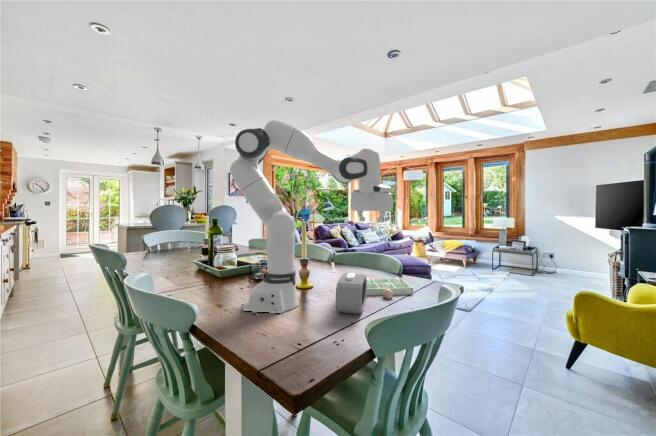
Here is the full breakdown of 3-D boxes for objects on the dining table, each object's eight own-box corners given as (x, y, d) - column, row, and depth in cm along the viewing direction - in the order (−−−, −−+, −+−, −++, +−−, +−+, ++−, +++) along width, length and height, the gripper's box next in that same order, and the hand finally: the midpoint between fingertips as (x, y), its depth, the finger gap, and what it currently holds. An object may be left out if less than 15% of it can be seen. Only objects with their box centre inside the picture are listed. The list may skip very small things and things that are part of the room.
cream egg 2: (382, 293, 126) (382, 284, 126) (379, 290, 131) (379, 281, 130) (391, 293, 126) (391, 283, 126) (389, 290, 131) (389, 281, 131)
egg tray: (362, 296, 124) (362, 288, 124) (357, 286, 139) (357, 279, 139) (412, 295, 125) (413, 287, 125) (401, 285, 141) (402, 278, 140)
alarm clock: (361, 319, 100) (361, 283, 99) (335, 316, 102) (335, 281, 102) (366, 299, 120) (367, 269, 119) (345, 298, 122) (345, 268, 122)
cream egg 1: (363, 288, 133) (363, 279, 133) (361, 285, 138) (361, 277, 137) (372, 288, 134) (372, 279, 133) (370, 285, 138) (370, 277, 138)
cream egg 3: (393, 288, 134) (393, 279, 134) (390, 285, 138) (391, 276, 138) (402, 287, 134) (402, 279, 134) (399, 285, 139) (399, 276, 138)
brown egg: (384, 300, 118) (384, 290, 118) (381, 297, 123) (381, 287, 123) (394, 300, 119) (394, 290, 118) (391, 297, 123) (391, 287, 123)
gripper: (346, 189, 120) (347, 221, 121) (385, 187, 105) (386, 223, 106) (356, 189, 125) (357, 220, 125) (395, 187, 109) (395, 222, 110)
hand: (370, 221), depth 116 cm, fingers open, 8 cm apart
